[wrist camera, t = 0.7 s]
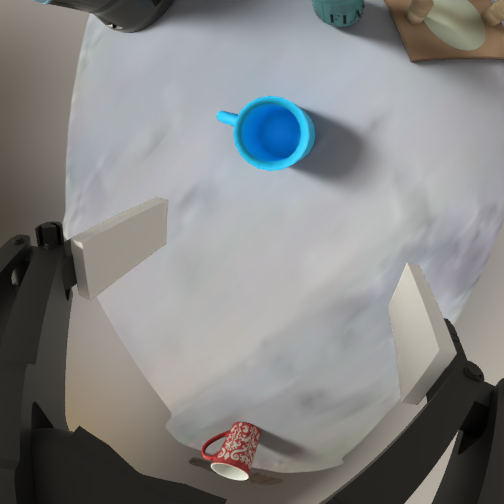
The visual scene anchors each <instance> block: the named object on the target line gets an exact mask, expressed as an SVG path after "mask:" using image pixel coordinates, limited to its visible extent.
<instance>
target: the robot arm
mask: <svg viewBox="0 0 504 504" xmlns="http://www.w3.org/2000/svg"><path fill="white" fill-rule="evenodd" d="M33 1H36V2H40V3H43V4H44V5H46V4H51V5H57V6H62V7H67V8H71V9H76V10H80V11H84V12H89V13H92V14H94V15H95V16H96V17H97V18H98V19H99V20H101V21H102V22H103V23H104V24H105V25H106V26H107V27H109V28H111V29H113V30H116V31H120V32H124V33H130V32H135V31H138V30H141V29H143V28H145V27H147V26H149V25H150V24H152V23H153V22H155V21H156V20H157V19H158V18H159V17H160V16H161V15H162V14H163V13H164V12H165V11H166V10H167V9H168V8H169V6H170V5H171V4H172V2H173V0H33ZM167 212H168V199H163V198H159V197H156V198H154V199H151V200H149V201H147V202H145V203H142V204H140V205H138V206H136V207H134V208H131V209H129V210H127V211H125V212H123V213H121V214H119V215H116V216H114V217H112V218H110V219H108V220H106V221H104V222H102V223H100V224H98V225H96V226H94V227H92V228H90V229H88V230H86V231H84V232H82V233H80V234H78V235H76V236H74V237H72V238H71V239H69V240H67V241H65V242H64V237H63V228H62V224H61V223H60V222H46V223H43V224H40V225H39V226H37V227H36V228H35V230H36V237H37V243H38V247H36V246H31V241H30V237H29V236H28V235H21V234H20V235H16V236H15V237H13V238H11V239H9V240H8V241H7V242H6V243H5V244H4V245H3V246H2V247H1V248H0V504H225V502H226V500H227V499H224V498H221V497H218V496H215V495H212V494H210V493H207V492H204V491H201V490H199V489H196V488H194V487H191V486H188V485H186V484H182V483H177V482H172V481H167V480H163V479H158V478H154V477H150V476H146V475H143V474H140V473H139V472H137V471H136V470H135V469H134V468H133V467H132V466H130V465H129V464H128V463H127V462H126V461H125V460H124V459H123V458H122V457H121V456H120V455H119V454H117V453H116V452H115V451H114V450H113V449H112V448H111V447H110V446H109V445H107V444H106V443H105V442H103V441H101V440H100V439H98V438H97V437H95V436H94V435H92V434H91V433H89V432H87V431H86V430H85V429H83V428H82V427H80V426H79V427H78V428H77V429H76V430H75V432H72V431H69V429H68V426H67V423H66V417H65V369H66V349H67V338H68V328H69V319H70V311H71V303H72V297H73V293H72V287H73V286H74V285H76V284H77V287H78V292H79V295H80V296H82V297H84V298H86V299H88V300H90V301H91V300H92V299H94V298H95V297H96V296H97V295H99V294H100V293H101V292H102V291H104V290H105V289H106V288H108V287H109V286H110V285H112V284H113V283H114V282H115V281H117V280H118V279H119V278H121V277H122V276H123V275H125V274H126V273H127V272H129V271H130V270H131V269H133V268H134V267H135V266H137V265H138V264H139V263H141V262H142V261H143V260H145V259H146V258H147V257H149V256H150V255H152V254H153V253H154V252H156V251H157V250H158V249H160V248H161V247H163V246H164V245H165V244H166V234H167ZM12 273H13V275H14V279H15V283H14V284H12V280H11V277H12ZM388 309H389V315H390V320H391V326H392V332H393V338H394V344H395V351H396V358H397V366H398V374H399V383H400V394H401V402H402V403H409V404H416V405H418V404H419V403H420V401H421V400H422V399H423V398H424V397H425V395H426V397H427V404H426V405H425V406H424V407H423V409H422V410H421V411H420V412H419V413H418V414H417V416H415V418H414V419H413V420H412V421H411V422H410V424H409V425H408V426H407V427H406V428H405V429H404V430H403V431H402V432H401V433H400V434H399V435H398V436H397V437H396V439H394V440H393V441H392V442H391V443H390V444H389V445H388V446H387V448H385V449H384V450H383V451H382V452H381V453H380V454H379V455H378V456H377V457H376V458H375V459H374V460H373V461H372V462H371V463H369V464H368V465H367V466H366V467H365V468H364V469H363V470H361V471H360V472H359V473H358V474H357V475H356V476H354V477H353V478H352V479H351V480H350V481H348V482H347V483H346V484H345V485H343V486H342V487H341V488H340V489H338V490H337V491H336V492H334V493H333V494H332V495H330V496H329V497H328V498H326V499H325V500H324V501H322V502H321V503H319V504H404V503H405V502H406V501H407V500H408V498H409V497H410V496H411V495H412V494H413V493H414V491H415V490H416V489H417V488H418V486H419V485H420V484H421V483H422V482H423V480H424V479H425V478H426V476H427V475H428V474H429V473H430V471H431V470H432V469H433V467H434V466H435V465H436V463H437V462H438V460H439V459H440V458H441V456H442V455H443V453H444V452H445V450H446V449H447V447H448V446H449V444H450V442H451V441H452V440H453V438H454V436H455V435H456V433H457V432H458V434H457V438H456V441H455V444H454V448H453V451H452V454H451V457H450V459H449V462H448V465H447V468H446V471H445V473H444V476H443V478H442V481H441V483H440V486H439V488H438V490H437V493H436V495H435V497H434V500H433V502H432V504H504V378H503V379H501V380H500V381H499V382H498V384H497V385H496V386H493V385H491V384H489V383H487V382H484V375H483V372H482V371H481V369H480V368H479V367H478V366H477V365H476V364H474V363H473V362H470V361H467V358H466V356H465V353H464V350H463V348H462V345H461V343H460V340H459V338H458V336H457V333H456V330H455V328H454V326H453V325H452V324H451V323H450V321H449V320H448V319H445V318H443V316H442V314H441V311H440V309H439V306H438V304H437V302H436V300H435V297H434V295H433V293H432V291H431V289H430V286H429V284H428V282H427V280H426V278H425V276H424V274H423V272H422V270H421V268H420V266H418V265H415V264H412V263H409V262H407V263H406V266H405V268H404V271H403V273H402V276H401V278H400V280H399V283H398V285H397V287H396V290H395V292H394V294H393V296H392V299H391V301H390V303H389V305H388ZM458 430H459V431H458Z"/></svg>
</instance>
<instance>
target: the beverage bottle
mask: <svg viewBox="0 0 504 504" xmlns="http://www.w3.org/2000/svg"><path fill="white" fill-rule="evenodd" d="M312 2H313V3H312V4H313V8H314V10H315V11H314V12H316V14H317V15H318V17H319V19H320V20H323V22H326V23H328V24H329V25H332V26H337V27H346V26H350V25H353V24H355V22H357V21H358V20H359V18H360V19H361V14H362V13H363V12H362V8H363V9H364V4H363V0H312ZM317 15H316V16H317Z"/></svg>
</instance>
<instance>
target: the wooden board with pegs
mask: <svg viewBox="0 0 504 504" xmlns="http://www.w3.org/2000/svg"><path fill="white" fill-rule="evenodd" d="M384 2H385V4H386V6H387V8H388V10H389V12H390V14H391V16H392V18H393V20H394V23H395V25H396V27H397V29H398V31H399V34H400V36H401V38H402V41H403V43H404V46H405V48H406V50H407V53H408V56H409V58H410V61H411V62H414V61H425V60H439V59H469V58H477V59H504V28H503V25H502V23H501V21H503V20H504V0H498V1H497V2H495V3H494V4H493V5H492V3H491V1H490V0H384Z"/></svg>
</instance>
